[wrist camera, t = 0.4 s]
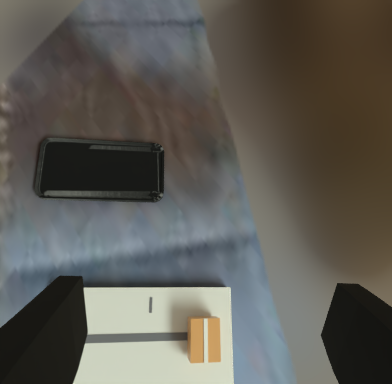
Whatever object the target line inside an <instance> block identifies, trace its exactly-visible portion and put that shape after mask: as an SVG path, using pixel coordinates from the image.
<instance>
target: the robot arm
mask: <svg viewBox="0 0 392 384" xmlns="http://www.w3.org/2000/svg"><path fill="white" fill-rule="evenodd" d="M87 334H88V327H87V317H86V307H85V297H84V287H83V278H82V276H59V277H58V278H57V279H55V280H54V281H53V282H52V283H51V284H50V285H48V286H47V287H46V288H45V289H44V290H43V291H42V292H41V293H39V294H38V295H37V296H36V297H35V298H34V299H33V300H32V301H31V302H29V303H28V304H27V305H26V306H25V307H24V308H23V309H22V310H20V311H19V312H18V313H17V314H16V315H15V316H14V317H13V318H11V319H10V320H9V321H8V322H7V323H6V324H4V325H3V326H2V327H1V328H0V384H73V382H74V379H75V377H76V374H77V371H78V368H79V364H80V361H81V357H82V353H83V349H84V345H85V342H86V338H87ZM321 337H322V340H323V343H324V346H325V349H326V352H327V355H328V358H329V361H330V363H331V366H332V369H333V372H334V374H335V376H336V378H337V380H338V383H339V384H392V307H391V306H389V305H388V304H386V303H385V302H384V301H382V300H381V299H380V298H378V297H377V296H375V295H374V294H372V293H371V292H369V291H368V290H367V289H365V288H364V287H362V286H360V285H359V284H343V283H337V286H336V289H335V292H334V296H333V299H332V302H331V305H330V308H329V311H328V314H327V318H326V321H325V324H324V327H323V330H322V333H321Z"/></svg>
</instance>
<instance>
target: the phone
mask: <svg viewBox="0 0 392 384" xmlns="http://www.w3.org/2000/svg"><path fill="white" fill-rule="evenodd" d="M35 193H36V194H37V196H39V197H40V198H41V199H45V200H78V201H120V202H158V201H160V200H161V199H162V197H163V193H164V149H163V147H162V146H161V145H159V144H156V143H140V142H122V141H104V140H85V139H67V138H47V139H45V140H44V141H43V142H42V144H41V148H40V155H39V162H38V168H37V175H36V182H35Z"/></svg>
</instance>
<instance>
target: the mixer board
mask: <svg viewBox="0 0 392 384" xmlns="http://www.w3.org/2000/svg"><path fill="white" fill-rule="evenodd" d="M84 297H85V307H86V317H87V327H88V334H87V338H86V342H85V345H84V349H83V353H82V357H81V361H80V364H79V368H78V371H77V374H76V377H75V379H74V382H73V384H234V379H233V350H232V320H231V291H230V287H152V288H84ZM189 316H216V317H218V318H220V345H221V362H211V363H190V361H189V360H188V358H187V335H188V317H189Z"/></svg>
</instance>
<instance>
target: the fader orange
mask: <svg viewBox="0 0 392 384" xmlns="http://www.w3.org/2000/svg"><path fill="white" fill-rule="evenodd" d="M187 358H188V360H189V361H190V363H211V362H221V345H220V318H218V317H216V316H189V317H188V335H187Z"/></svg>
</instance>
